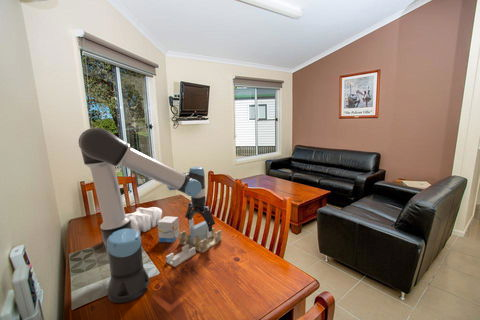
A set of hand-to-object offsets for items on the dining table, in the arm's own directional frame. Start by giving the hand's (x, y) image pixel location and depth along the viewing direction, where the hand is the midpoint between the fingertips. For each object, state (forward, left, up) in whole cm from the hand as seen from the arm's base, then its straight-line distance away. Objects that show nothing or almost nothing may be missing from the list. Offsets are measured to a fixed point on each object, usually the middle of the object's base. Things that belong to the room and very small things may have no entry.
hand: (200, 233), depth 125 cm
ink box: (-7, +18, -5) cm, 20 cm away
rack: (0, 0, -5) cm, 5 cm away
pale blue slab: (0, 0, -4) cm, 4 cm away
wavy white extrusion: (-10, +45, -5) cm, 46 cm away
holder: (-16, -3, -5) cm, 17 cm away
